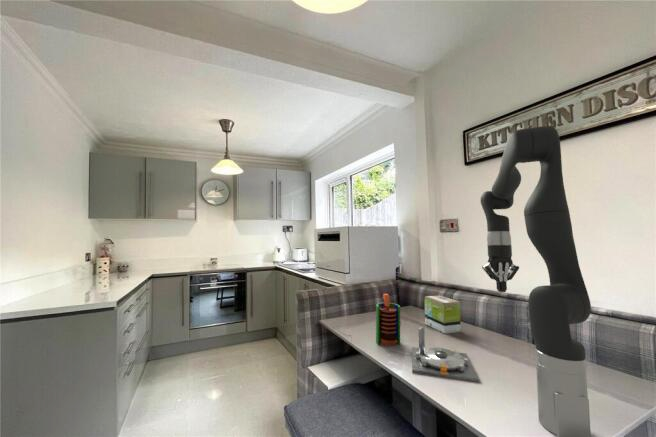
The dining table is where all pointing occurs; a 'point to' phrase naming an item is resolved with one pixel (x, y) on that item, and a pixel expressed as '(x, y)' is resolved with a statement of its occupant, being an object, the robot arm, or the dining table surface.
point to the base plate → (466, 374)
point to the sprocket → (439, 356)
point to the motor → (387, 323)
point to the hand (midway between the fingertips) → (501, 291)
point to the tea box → (442, 314)
